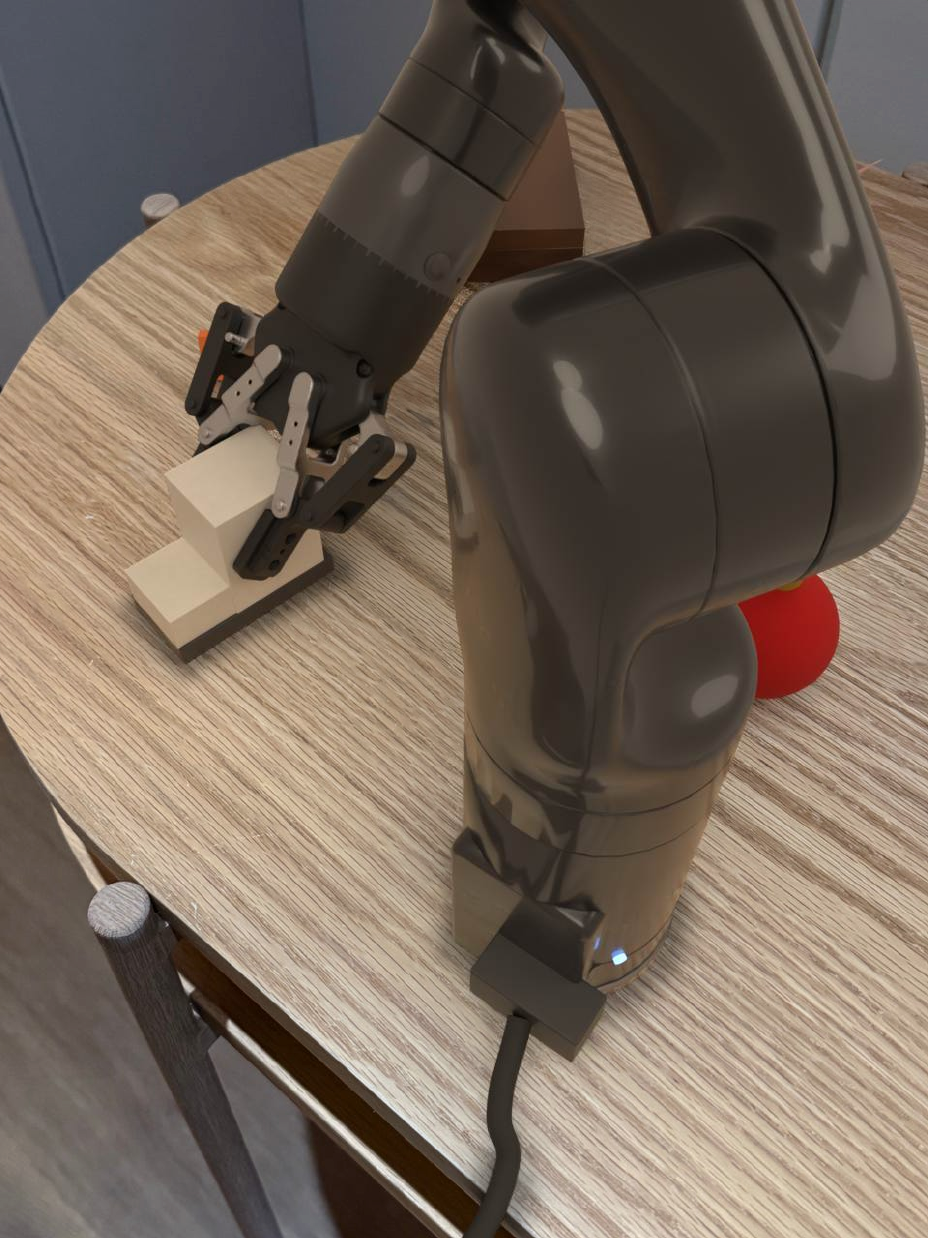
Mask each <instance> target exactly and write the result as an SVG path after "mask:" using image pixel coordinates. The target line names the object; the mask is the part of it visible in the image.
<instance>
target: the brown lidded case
mask: <svg viewBox="0 0 928 1238" xmlns="http://www.w3.org/2000/svg"><path fill="white" fill-rule="evenodd" d="M566 119H567V118H566V114H565V111H563V110H562V111H561V113H560V115H559V117H558V119H557V121H556V123H555V125H554V127H553V129H552V130H551V132H550V134H549V136H548V137H547V139H546V141H545V143H544V144H543V146H542V148H541V150H539V153H538V155H537V156H536V158H535V159H534V161H533V163H532V164H531V166H530V168H529V169H528V171H527V172H526V174H525V176H524V177H523V179H522V181H521V182H520V184H519V186H518V187H517V189H516V190H515V192H514V194H513V195H512V197H511V199H510V200H509V201H508V202H507V201H504V202H505V203H506V207H505V208H504V210H503V212H502V214H501V216H500V218H499V220H498V222H497V224H496V227H495V229H494V231H493V234H492V236H491V238H490V240H489V242H488V245H487V247H486V249H485V250H484V252H483V254H482V256H481V258H480V259H479V261H478V263H477V264H476V266H475V267H474V269H473V271H472V272H471V274H470V276H469V277H468V279H467V280H466V282H465V283H473V282H497V281H500V280H503V279H506V278H509V277H513V276H516V275H519V274H522V273H526V272H529V271H533V270H536V269H540V268H543V267H547V266H550V265H554V264H557V263H561V262H564V261H571V260H573V259H576V258H579V257H583V255H584V254H583V253H584V245H585V235H586V225H585V219H584V215H583V209H582V203H581V199H580V191H579V185H578V180H577V176H576V170H575V164H574V158H573V152H572V146H571V143H570V142H571V141H570V136H569V131H568V125H567V120H566Z"/></svg>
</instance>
